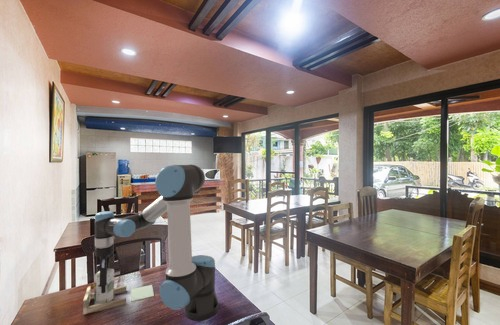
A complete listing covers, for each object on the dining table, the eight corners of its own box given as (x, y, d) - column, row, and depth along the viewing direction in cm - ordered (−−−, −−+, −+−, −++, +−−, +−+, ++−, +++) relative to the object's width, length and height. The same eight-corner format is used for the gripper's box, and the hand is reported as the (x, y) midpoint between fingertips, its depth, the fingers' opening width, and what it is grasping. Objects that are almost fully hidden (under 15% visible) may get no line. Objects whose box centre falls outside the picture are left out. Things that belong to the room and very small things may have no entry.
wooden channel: (126, 304, 107) (126, 291, 107) (83, 314, 100) (83, 300, 99) (126, 290, 118) (126, 278, 118) (87, 299, 111) (87, 286, 110)
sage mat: (154, 296, 113) (154, 295, 113) (130, 302, 109) (130, 301, 109) (152, 285, 123) (152, 284, 123) (130, 290, 118) (130, 289, 118)
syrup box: (102, 298, 111) (102, 268, 111) (114, 298, 111) (114, 268, 111) (93, 305, 106) (93, 273, 105) (106, 306, 105) (106, 274, 105)
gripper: (112, 251, 101) (112, 304, 101) (115, 237, 119) (114, 282, 119) (91, 255, 97) (91, 309, 98) (97, 239, 115) (97, 285, 116)
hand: (104, 294), depth 108 cm, fingers closed on syrup box, 7 cm apart
